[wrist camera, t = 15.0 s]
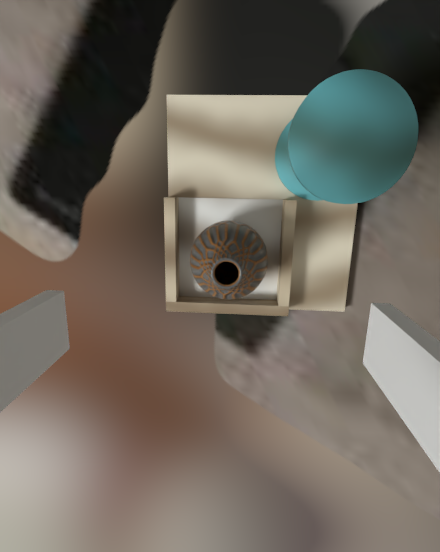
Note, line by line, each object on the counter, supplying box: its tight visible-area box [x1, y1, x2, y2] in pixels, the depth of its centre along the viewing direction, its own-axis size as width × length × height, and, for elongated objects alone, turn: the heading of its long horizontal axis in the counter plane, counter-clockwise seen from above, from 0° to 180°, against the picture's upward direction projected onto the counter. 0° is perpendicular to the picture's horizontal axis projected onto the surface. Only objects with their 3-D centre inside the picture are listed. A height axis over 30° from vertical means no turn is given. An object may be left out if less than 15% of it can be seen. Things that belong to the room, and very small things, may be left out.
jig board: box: [164, 69, 418, 316], centre depth 28 cm, size 20×18×11 cm
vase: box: [190, 220, 268, 300], centre depth 29 cm, size 7×7×9 cm
